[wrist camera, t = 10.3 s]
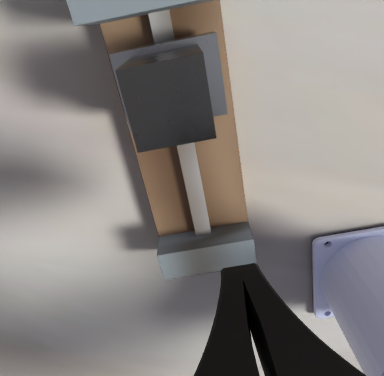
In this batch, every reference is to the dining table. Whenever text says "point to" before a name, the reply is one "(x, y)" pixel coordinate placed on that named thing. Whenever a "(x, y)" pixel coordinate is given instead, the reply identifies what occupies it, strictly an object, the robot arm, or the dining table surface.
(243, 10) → the dining table surface
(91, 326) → the dining table surface
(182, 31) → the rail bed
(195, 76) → the block
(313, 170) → the dining table surface
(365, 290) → the robot arm
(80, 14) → the cabinet
